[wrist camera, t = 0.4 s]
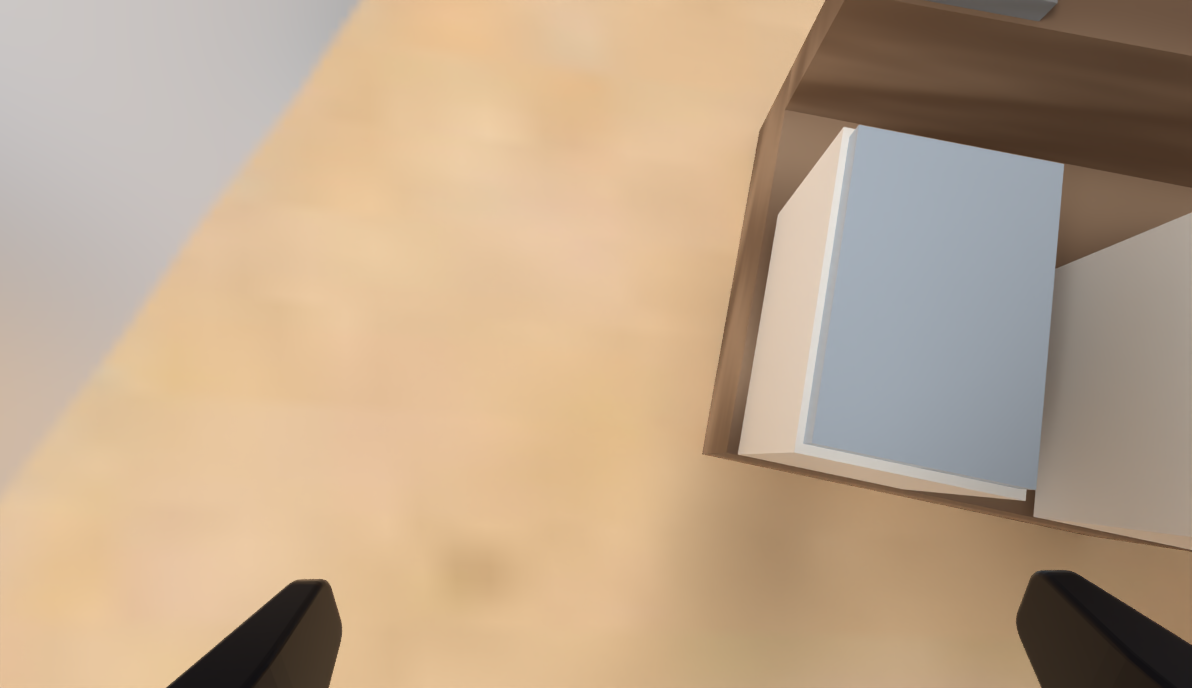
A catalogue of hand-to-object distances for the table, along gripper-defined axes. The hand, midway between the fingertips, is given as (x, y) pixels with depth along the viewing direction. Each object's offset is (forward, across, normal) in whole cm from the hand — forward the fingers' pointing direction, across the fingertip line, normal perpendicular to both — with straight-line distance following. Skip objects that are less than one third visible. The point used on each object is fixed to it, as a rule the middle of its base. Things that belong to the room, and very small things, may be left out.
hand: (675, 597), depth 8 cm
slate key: (+10, -6, +2) cm, 12 cm away
